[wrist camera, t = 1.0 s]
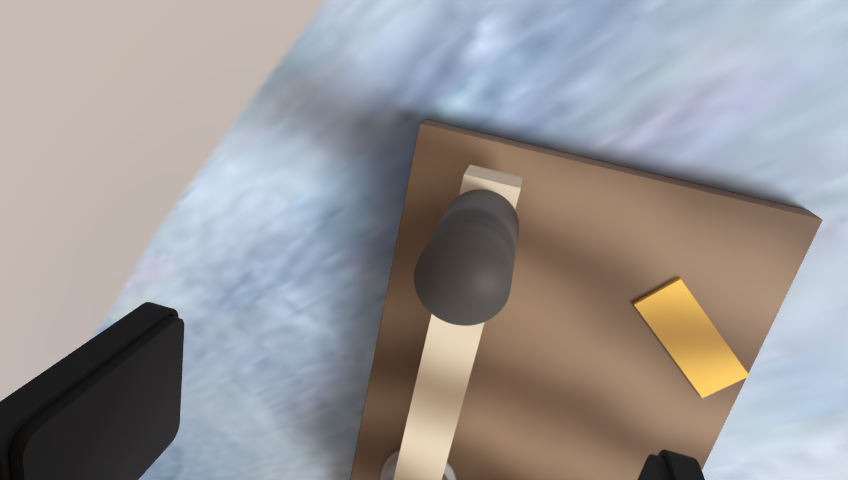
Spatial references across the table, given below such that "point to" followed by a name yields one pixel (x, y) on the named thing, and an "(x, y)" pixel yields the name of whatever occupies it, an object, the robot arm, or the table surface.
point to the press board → (587, 314)
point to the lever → (457, 312)
